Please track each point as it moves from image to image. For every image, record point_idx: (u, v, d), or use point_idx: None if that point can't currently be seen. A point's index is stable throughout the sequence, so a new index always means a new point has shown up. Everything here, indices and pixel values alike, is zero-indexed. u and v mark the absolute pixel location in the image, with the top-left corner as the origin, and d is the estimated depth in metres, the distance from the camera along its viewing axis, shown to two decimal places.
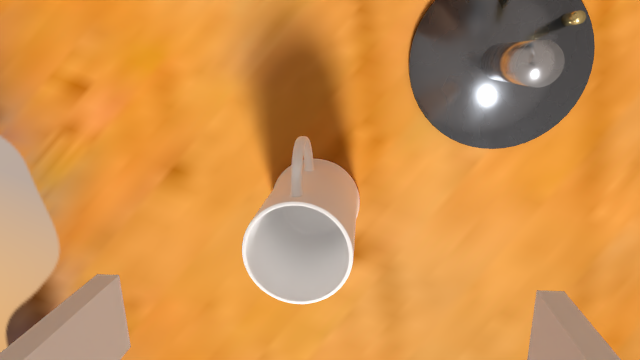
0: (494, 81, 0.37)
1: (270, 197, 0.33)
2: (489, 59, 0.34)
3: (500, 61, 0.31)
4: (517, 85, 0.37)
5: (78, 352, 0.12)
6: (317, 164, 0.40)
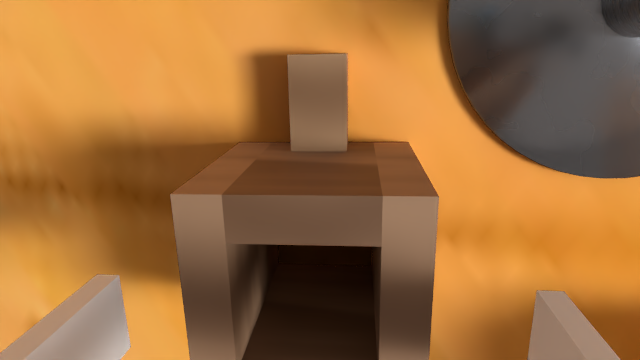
0: None
1: None
2: None
3: None
4: None
5: (78, 352, 0.12)
6: None
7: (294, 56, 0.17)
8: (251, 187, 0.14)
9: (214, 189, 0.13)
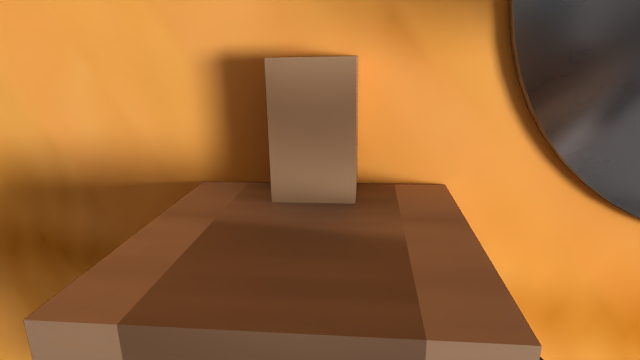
0: None
1: None
2: None
3: None
4: None
5: None
6: None
7: (275, 60, 0.11)
8: (180, 302, 0.07)
9: (112, 307, 0.07)
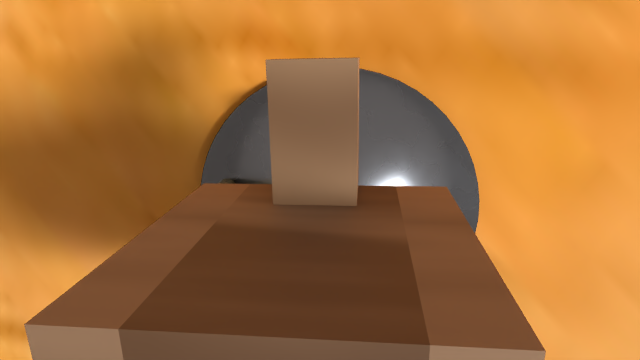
0: None
1: None
2: None
3: None
4: None
5: None
6: None
7: (276, 62, 0.11)
8: (182, 307, 0.07)
9: (113, 312, 0.07)
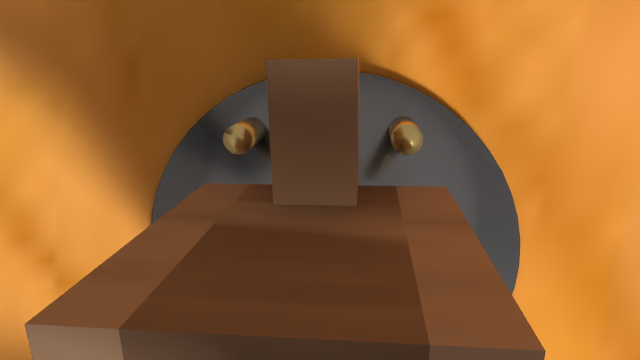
0: None
1: None
2: None
3: None
4: None
5: None
6: None
7: (276, 62, 0.11)
8: (182, 307, 0.07)
9: (113, 311, 0.07)
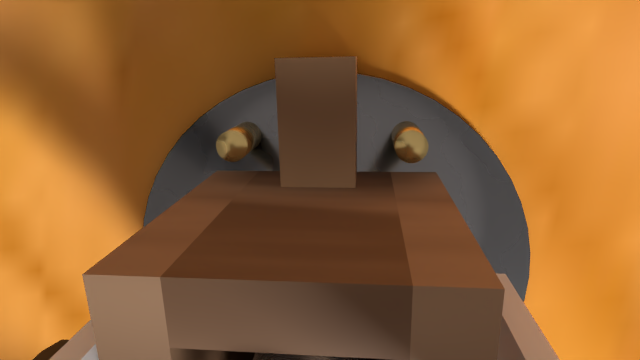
0: None
1: None
2: None
3: None
4: None
5: None
6: None
7: (284, 60, 0.13)
8: (210, 261, 0.09)
9: (153, 265, 0.09)
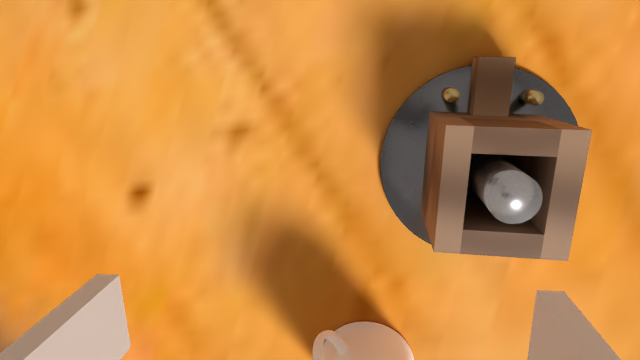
0: None
1: None
2: None
3: (475, 191, 0.28)
4: None
5: (78, 352, 0.12)
6: (349, 334, 0.37)
7: (483, 57, 0.30)
8: (485, 125, 0.26)
9: (466, 125, 0.25)
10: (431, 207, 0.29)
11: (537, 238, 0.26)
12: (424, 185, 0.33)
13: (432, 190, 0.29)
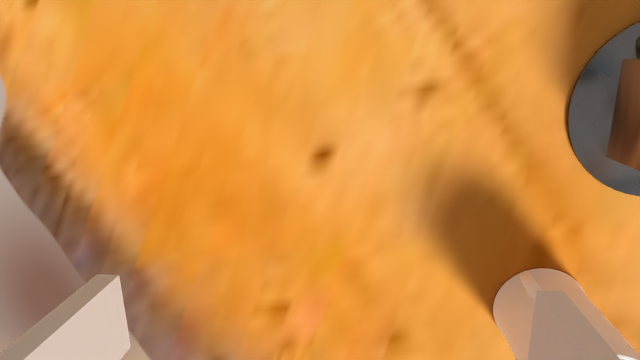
0: None
1: None
2: None
3: None
4: None
5: (78, 352, 0.12)
6: None
7: None
8: None
9: None
10: None
11: None
12: (617, 130, 0.35)
13: None
